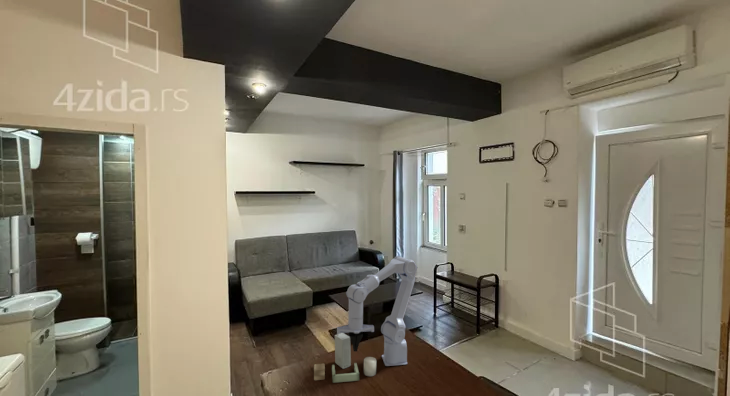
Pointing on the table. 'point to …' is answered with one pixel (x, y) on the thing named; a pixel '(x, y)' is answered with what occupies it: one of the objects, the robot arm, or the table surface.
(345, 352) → the skincare box
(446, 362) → the table surface
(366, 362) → the cream rounded block
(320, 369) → the beech block
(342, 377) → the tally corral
